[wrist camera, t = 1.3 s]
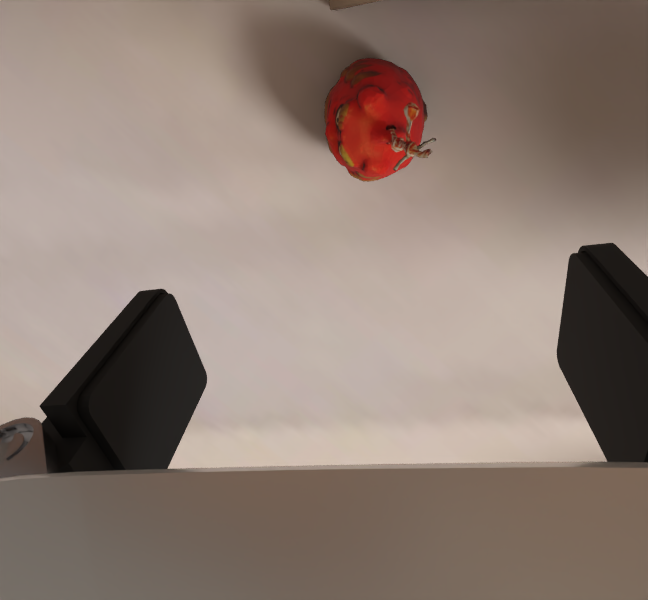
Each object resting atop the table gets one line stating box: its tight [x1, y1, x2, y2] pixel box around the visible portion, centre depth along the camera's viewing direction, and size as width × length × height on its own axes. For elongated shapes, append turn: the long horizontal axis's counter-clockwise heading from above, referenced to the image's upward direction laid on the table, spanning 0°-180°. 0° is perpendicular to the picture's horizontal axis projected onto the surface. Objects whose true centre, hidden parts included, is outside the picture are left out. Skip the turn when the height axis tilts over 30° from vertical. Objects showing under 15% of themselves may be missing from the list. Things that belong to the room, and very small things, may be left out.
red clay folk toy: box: [325, 58, 436, 181], centre depth 27 cm, size 8×7×15 cm
